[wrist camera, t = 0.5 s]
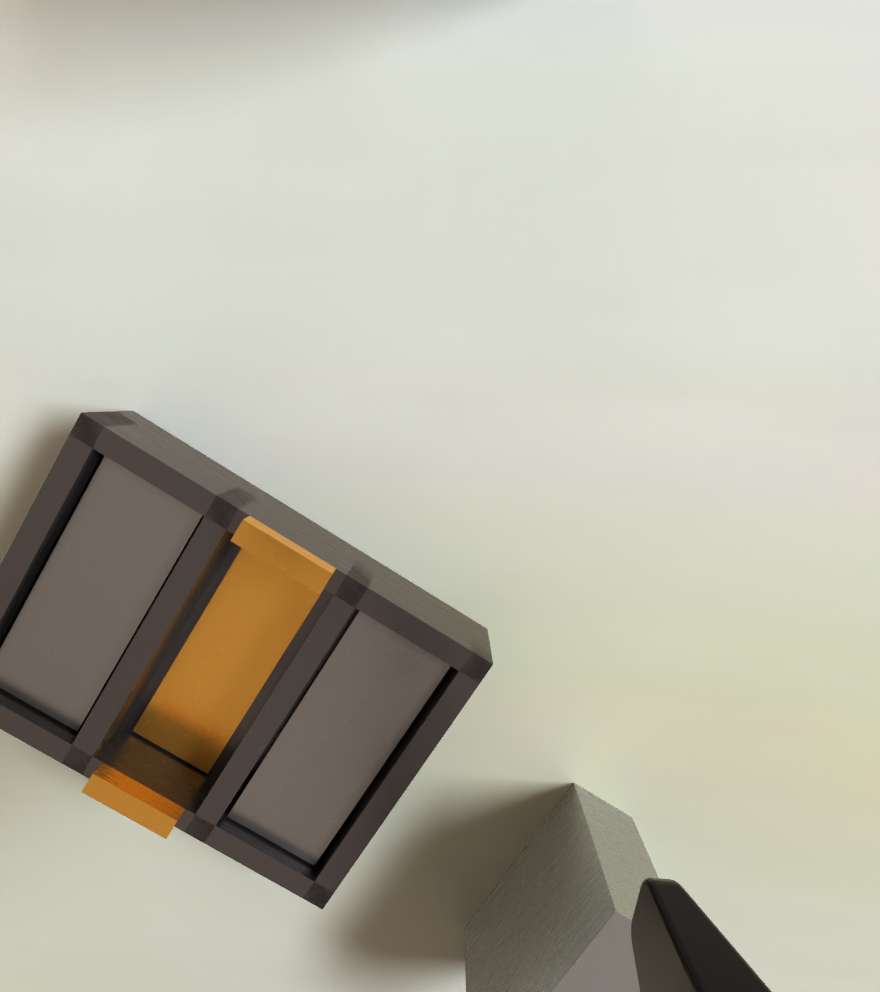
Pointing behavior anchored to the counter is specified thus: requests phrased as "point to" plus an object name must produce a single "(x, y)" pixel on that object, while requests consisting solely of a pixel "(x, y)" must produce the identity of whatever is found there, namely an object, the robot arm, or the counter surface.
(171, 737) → the rack
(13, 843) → the counter surface
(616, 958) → the grey rectangular block
